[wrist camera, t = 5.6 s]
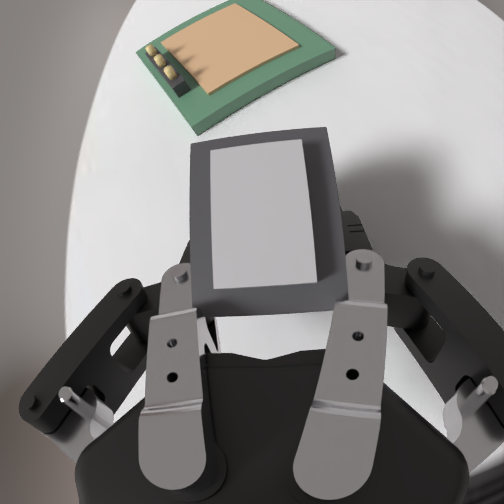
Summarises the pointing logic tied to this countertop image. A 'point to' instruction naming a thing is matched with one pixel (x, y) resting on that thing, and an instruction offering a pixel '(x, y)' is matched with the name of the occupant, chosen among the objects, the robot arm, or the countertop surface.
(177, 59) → the circuit board
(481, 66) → the countertop surface
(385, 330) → the robot arm
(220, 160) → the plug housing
